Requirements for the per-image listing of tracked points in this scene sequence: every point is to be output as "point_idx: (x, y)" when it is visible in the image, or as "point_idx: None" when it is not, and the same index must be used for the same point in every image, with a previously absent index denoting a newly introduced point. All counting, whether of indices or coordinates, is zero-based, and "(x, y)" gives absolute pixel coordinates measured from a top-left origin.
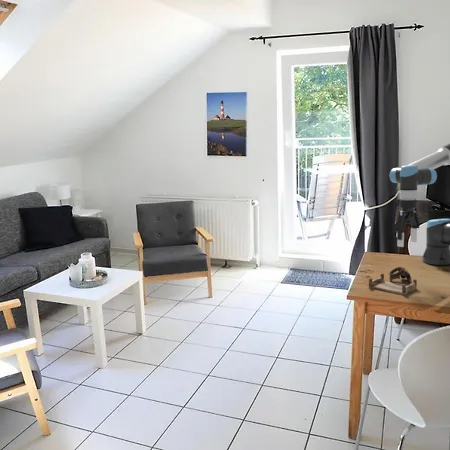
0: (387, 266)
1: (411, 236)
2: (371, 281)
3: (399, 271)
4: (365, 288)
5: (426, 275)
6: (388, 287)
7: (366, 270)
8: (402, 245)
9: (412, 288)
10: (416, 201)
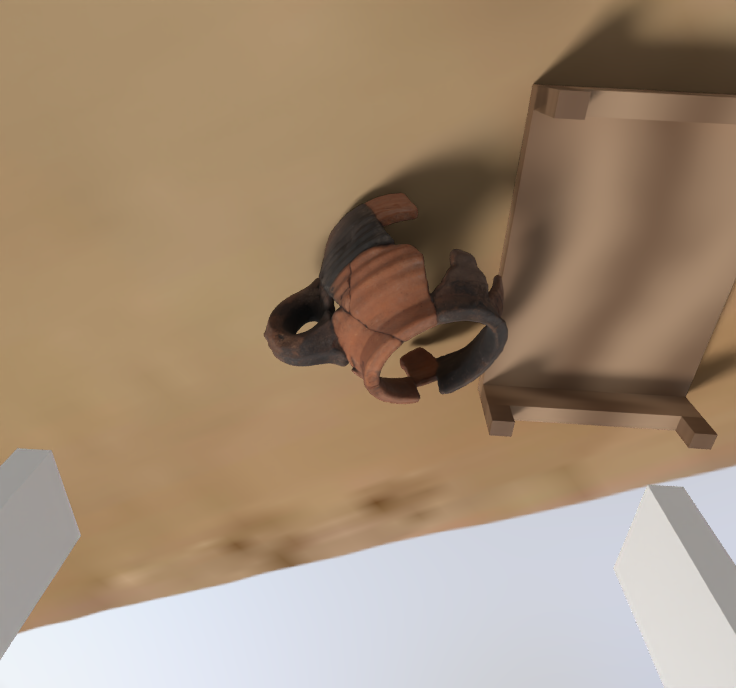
0: None
1: (9, 624)
2: (694, 419)
3: (485, 319)
4: None
5: (38, 191)
6: (669, 284)
7: (249, 553)
8: (696, 519)
9: (631, 90)
10: None
